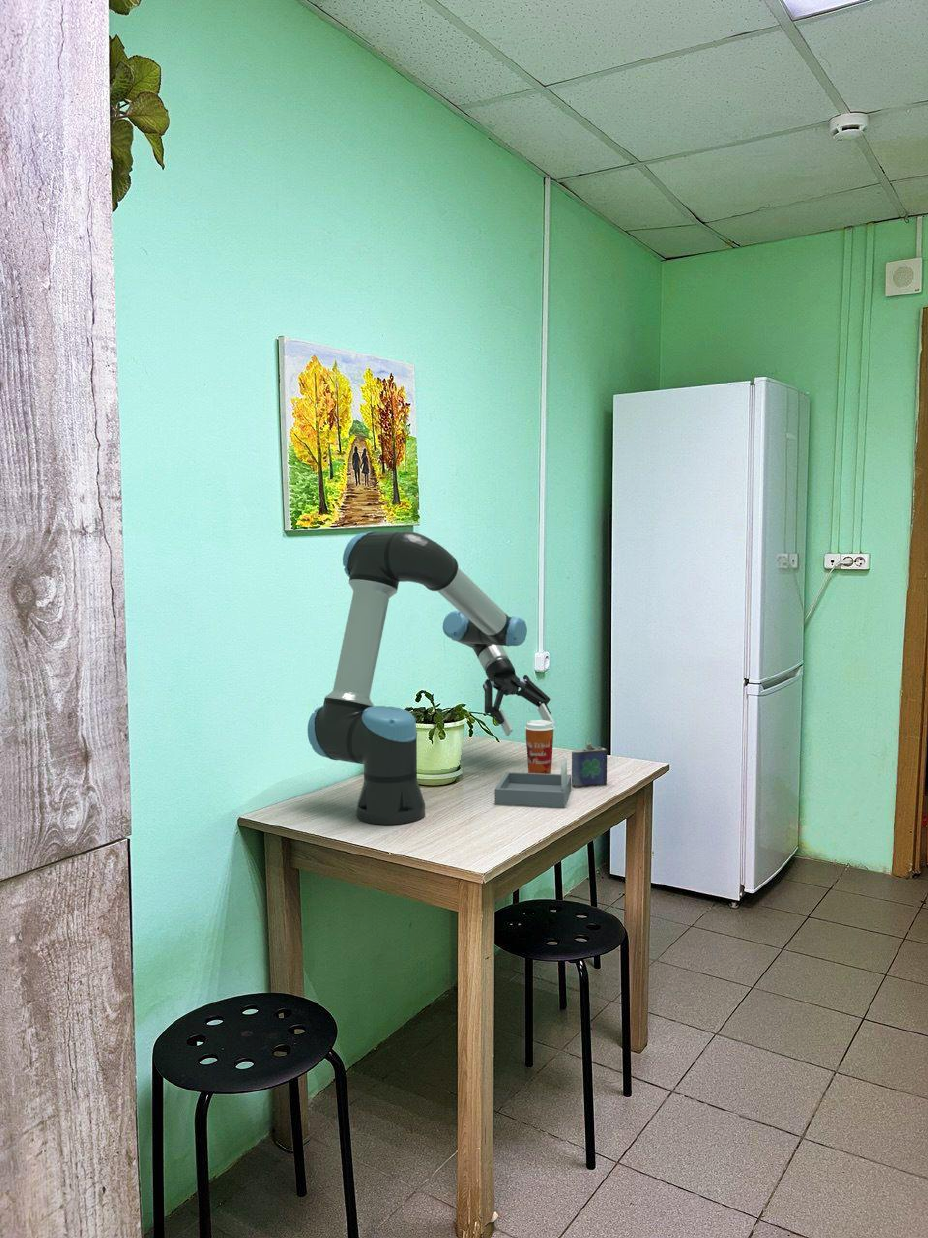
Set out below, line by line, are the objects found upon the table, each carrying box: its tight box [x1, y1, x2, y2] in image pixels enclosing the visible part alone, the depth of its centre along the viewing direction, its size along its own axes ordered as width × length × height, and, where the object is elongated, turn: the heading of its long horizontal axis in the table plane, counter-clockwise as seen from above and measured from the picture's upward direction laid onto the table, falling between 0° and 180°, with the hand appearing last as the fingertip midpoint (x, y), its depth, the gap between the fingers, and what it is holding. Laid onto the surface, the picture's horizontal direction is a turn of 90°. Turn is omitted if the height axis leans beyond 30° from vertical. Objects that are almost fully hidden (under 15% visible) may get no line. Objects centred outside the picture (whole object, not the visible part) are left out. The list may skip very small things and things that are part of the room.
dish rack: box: [493, 756, 572, 809], centre depth 215 cm, size 16×16×10 cm
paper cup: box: [523, 719, 556, 774], centre depth 232 cm, size 8×8×14 cm
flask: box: [571, 741, 609, 789], centre depth 224 cm, size 9×3×11 cm, turn 105°
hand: (531, 729), depth 237 cm, fingers open, 13 cm apart
